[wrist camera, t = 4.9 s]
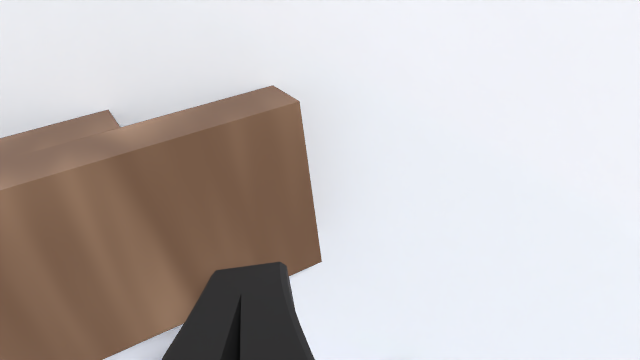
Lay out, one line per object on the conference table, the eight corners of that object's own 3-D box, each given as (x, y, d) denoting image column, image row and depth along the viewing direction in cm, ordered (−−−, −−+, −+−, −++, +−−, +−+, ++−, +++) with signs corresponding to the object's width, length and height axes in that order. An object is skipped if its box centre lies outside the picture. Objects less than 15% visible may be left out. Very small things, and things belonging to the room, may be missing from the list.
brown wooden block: (299, 101, 11) (-99, 219, 8) (321, 261, 14) (21, 396, 11) (272, 85, 13) (-82, 183, 10) (297, 234, 15) (22, 348, 12)
